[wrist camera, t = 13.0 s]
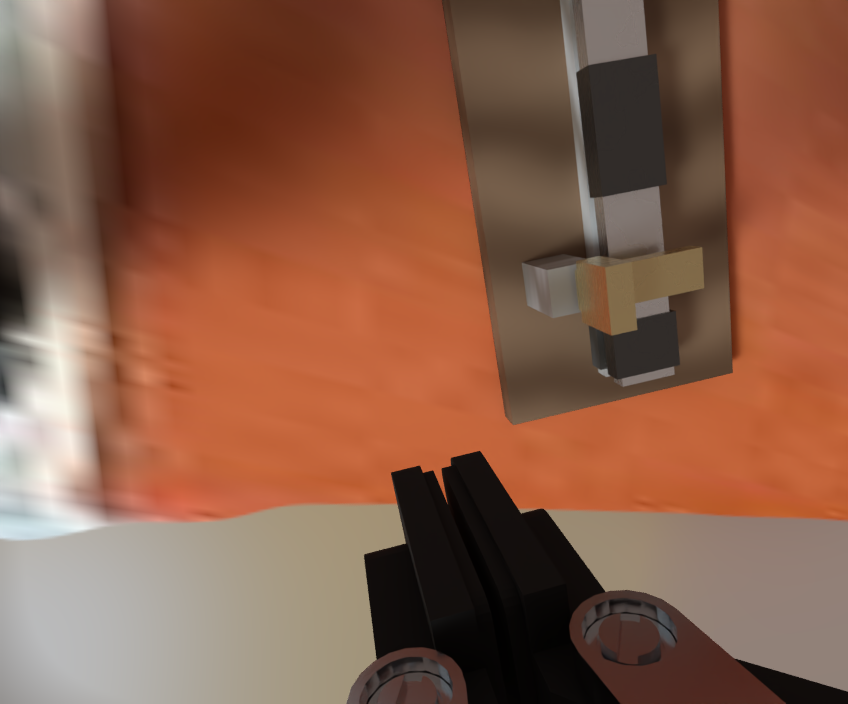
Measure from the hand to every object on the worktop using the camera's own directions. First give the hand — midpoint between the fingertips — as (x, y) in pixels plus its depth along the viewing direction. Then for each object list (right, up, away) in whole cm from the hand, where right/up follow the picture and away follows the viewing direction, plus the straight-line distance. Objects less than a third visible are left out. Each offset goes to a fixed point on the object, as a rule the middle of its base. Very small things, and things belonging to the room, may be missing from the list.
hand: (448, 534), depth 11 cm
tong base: (+9, +16, +22) cm, 28 cm away
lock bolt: (+10, +7, +18) cm, 22 cm away
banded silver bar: (+9, +14, +19) cm, 25 cm away
